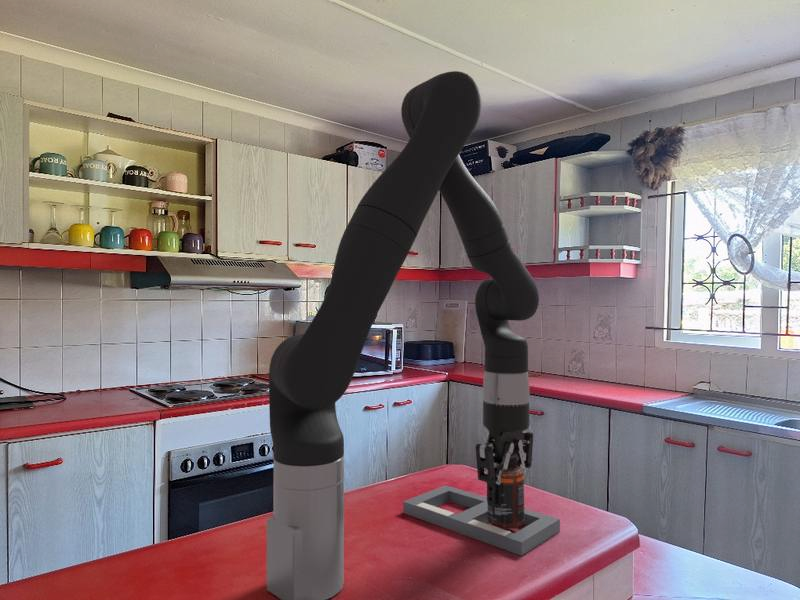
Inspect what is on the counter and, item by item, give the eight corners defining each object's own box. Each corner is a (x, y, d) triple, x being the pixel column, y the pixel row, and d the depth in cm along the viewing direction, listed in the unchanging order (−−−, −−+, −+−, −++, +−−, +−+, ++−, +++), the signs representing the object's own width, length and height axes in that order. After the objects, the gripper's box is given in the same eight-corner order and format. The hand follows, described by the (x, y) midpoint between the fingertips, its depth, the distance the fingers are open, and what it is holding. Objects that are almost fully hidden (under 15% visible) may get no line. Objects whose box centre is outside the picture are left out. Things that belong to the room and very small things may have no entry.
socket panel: (521, 555, 82) (521, 541, 82) (403, 512, 98) (403, 501, 98) (559, 531, 91) (559, 518, 91) (445, 495, 107) (445, 484, 107)
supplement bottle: (521, 516, 93) (522, 449, 93) (526, 531, 87) (526, 459, 87) (486, 515, 94) (486, 448, 94) (488, 529, 88) (488, 458, 88)
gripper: (501, 408, 83) (500, 519, 83) (548, 396, 93) (547, 495, 93) (461, 401, 88) (460, 506, 88) (509, 391, 99) (509, 485, 99)
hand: (505, 500), depth 91 cm, fingers open, 6 cm apart
